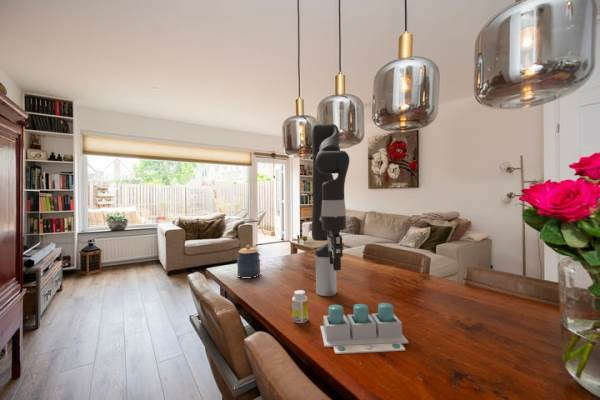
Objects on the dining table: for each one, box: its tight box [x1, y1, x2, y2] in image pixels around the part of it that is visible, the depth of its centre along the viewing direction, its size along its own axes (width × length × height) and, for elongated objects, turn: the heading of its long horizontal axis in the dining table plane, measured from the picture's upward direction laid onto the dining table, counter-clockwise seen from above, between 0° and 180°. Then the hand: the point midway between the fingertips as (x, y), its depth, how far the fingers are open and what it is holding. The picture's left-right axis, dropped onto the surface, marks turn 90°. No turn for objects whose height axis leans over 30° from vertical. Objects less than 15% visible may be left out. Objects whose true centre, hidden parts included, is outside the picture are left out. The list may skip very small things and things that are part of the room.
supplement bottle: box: [291, 289, 309, 324], centre depth 97 cm, size 6×6×10 cm
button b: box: [353, 303, 369, 323], centre depth 86 cm, size 5×5×6 cm
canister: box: [236, 244, 261, 277], centre depth 154 cm, size 13×13×18 cm
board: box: [319, 312, 409, 348], centre depth 86 cm, size 12×25×5 cm, turn 92°
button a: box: [328, 304, 344, 325], centre depth 86 cm, size 5×5×6 cm
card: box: [332, 343, 406, 355], centre depth 78 cm, size 3×20×1 cm, turn 92°
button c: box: [377, 302, 395, 322], centre depth 86 cm, size 5×5×6 cm
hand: (335, 266), depth 85 cm, fingers open, 7 cm apart
